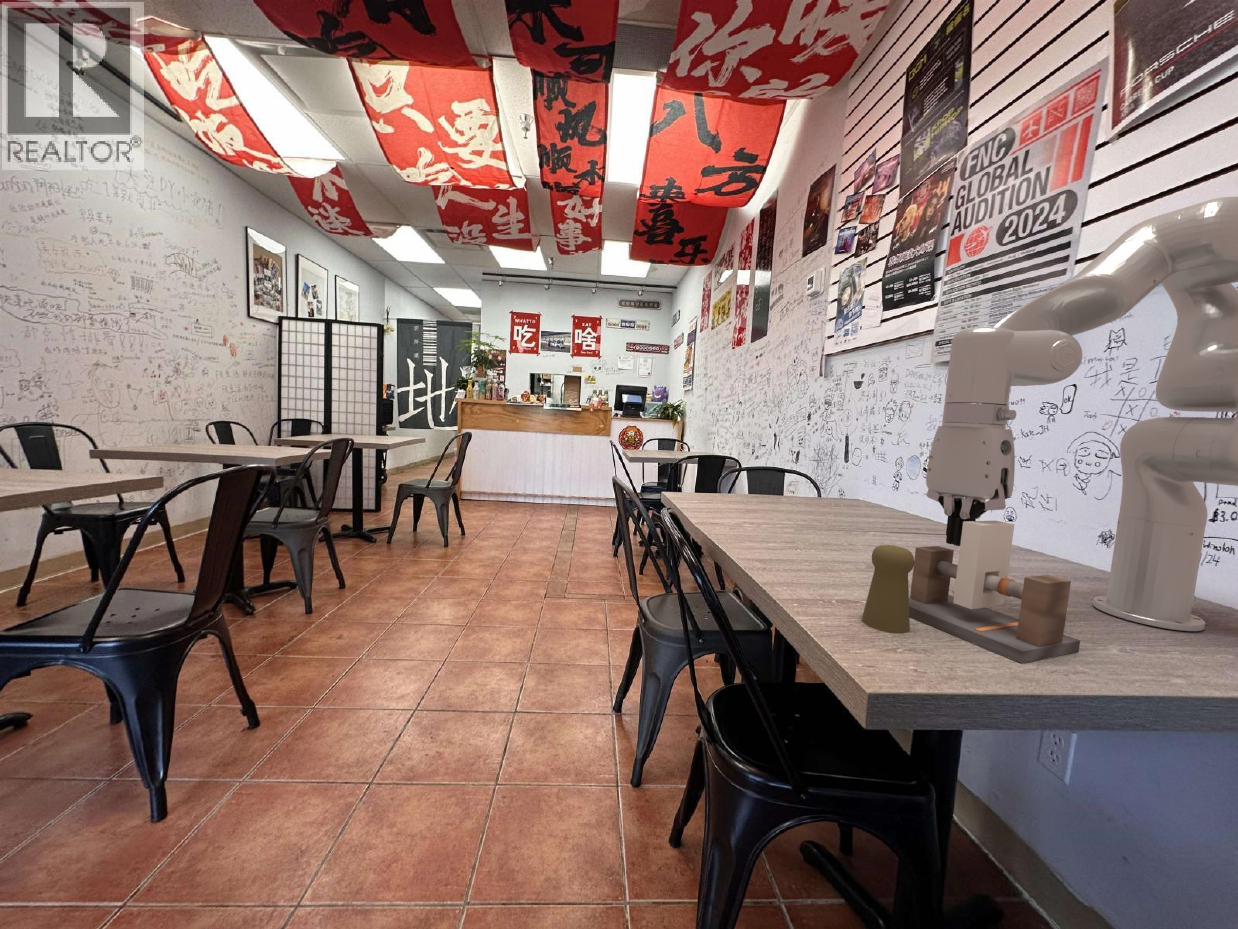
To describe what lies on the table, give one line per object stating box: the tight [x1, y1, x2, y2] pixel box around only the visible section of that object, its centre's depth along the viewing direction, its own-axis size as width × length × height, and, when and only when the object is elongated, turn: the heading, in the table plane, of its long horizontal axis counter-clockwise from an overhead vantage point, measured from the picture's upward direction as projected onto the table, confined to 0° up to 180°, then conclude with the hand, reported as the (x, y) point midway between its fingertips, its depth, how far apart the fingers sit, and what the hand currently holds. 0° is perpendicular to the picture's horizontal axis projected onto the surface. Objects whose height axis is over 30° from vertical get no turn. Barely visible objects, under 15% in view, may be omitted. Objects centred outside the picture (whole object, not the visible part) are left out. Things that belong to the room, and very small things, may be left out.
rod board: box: [909, 545, 1081, 664], centre depth 73 cm, size 12×18×10 cm, turn 23°
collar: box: [953, 520, 1015, 609], centre depth 73 cm, size 7×2×12 cm, turn 113°
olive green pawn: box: [861, 544, 915, 634], centre depth 72 cm, size 6×6×11 cm
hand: (958, 544), depth 76 cm, fingers closed
